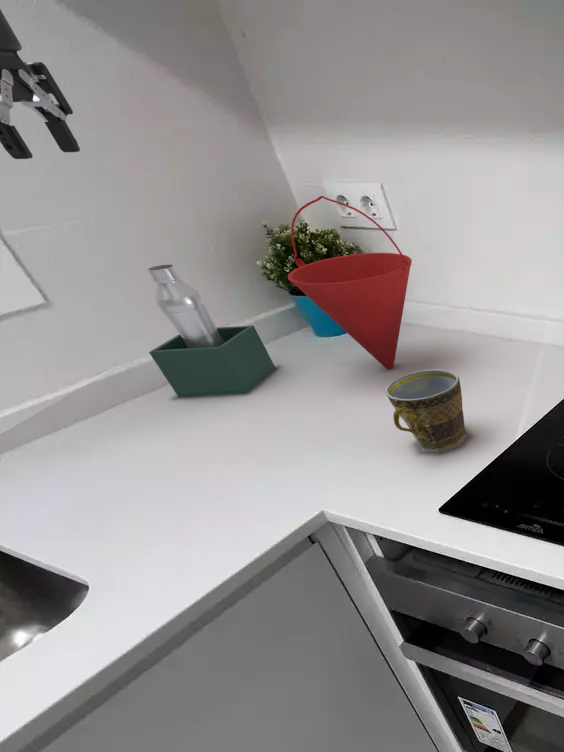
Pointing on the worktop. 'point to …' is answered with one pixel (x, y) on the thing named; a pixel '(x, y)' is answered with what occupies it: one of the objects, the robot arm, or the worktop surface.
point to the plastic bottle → (184, 308)
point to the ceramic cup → (429, 408)
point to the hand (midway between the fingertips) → (48, 155)
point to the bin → (215, 364)
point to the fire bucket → (359, 293)
